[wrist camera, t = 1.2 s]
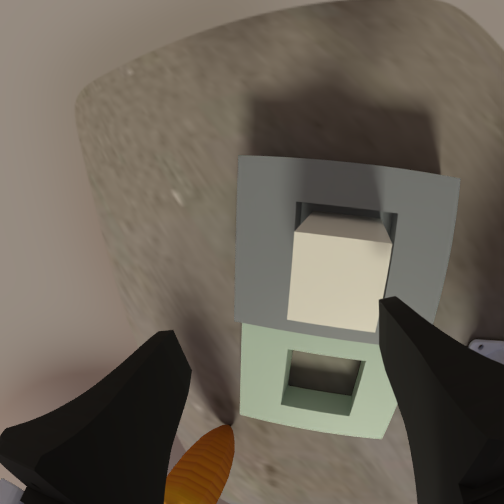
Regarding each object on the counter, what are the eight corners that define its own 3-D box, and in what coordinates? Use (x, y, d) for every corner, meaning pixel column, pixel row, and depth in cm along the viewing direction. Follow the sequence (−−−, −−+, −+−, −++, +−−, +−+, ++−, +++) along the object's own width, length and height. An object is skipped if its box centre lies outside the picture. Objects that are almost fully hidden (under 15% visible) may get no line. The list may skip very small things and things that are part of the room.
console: (259, 156, 20) (238, 155, 17) (441, 175, 17) (460, 178, 13) (249, 396, 26) (233, 426, 22) (381, 418, 23) (381, 452, 19)
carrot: (204, 402, 28) (120, 516, 14) (253, 415, 27) (182, 546, 13) (207, 433, 30) (136, 538, 16) (251, 446, 28) (191, 562, 14)
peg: (380, 218, 17) (392, 243, 12) (371, 283, 18) (375, 332, 13) (313, 210, 18) (294, 231, 13) (307, 275, 19) (286, 319, 14)
